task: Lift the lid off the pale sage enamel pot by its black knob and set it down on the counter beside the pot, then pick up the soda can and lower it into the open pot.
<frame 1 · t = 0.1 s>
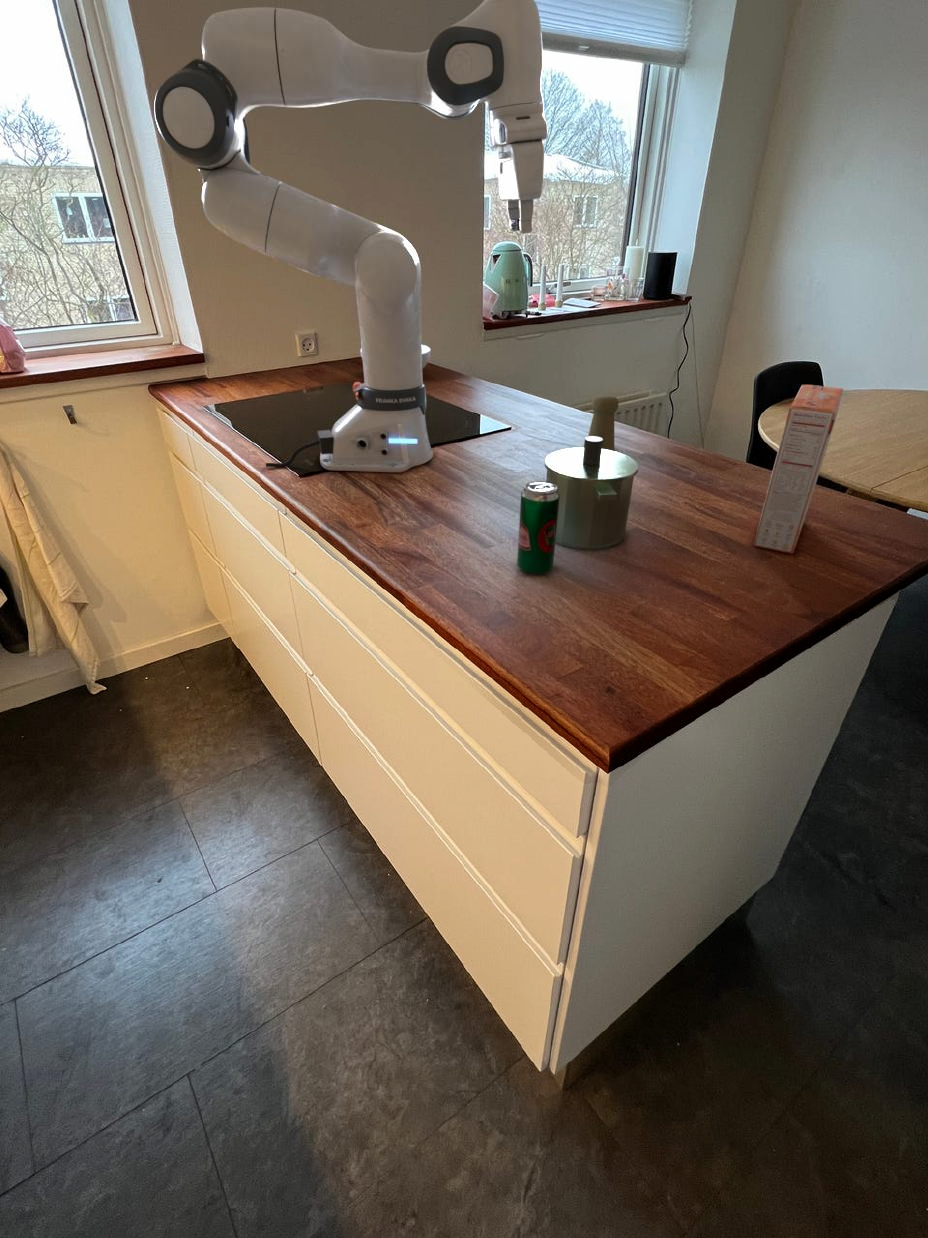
hand: (520, 231, 109), 39 cm above the worktop, tool pointing down, fingers open, 8 cm apart
soda can: (534, 569, 89), on the worktop
lid: (590, 466, 93), point 10 cm above the worktop, touching pot
beige pestle: (599, 450, 132), on the worktop
pot: (583, 531, 99), on the worktop
cracker box: (777, 534, 99), on the worktop
serving bowl: (396, 373, 191), on the worktop
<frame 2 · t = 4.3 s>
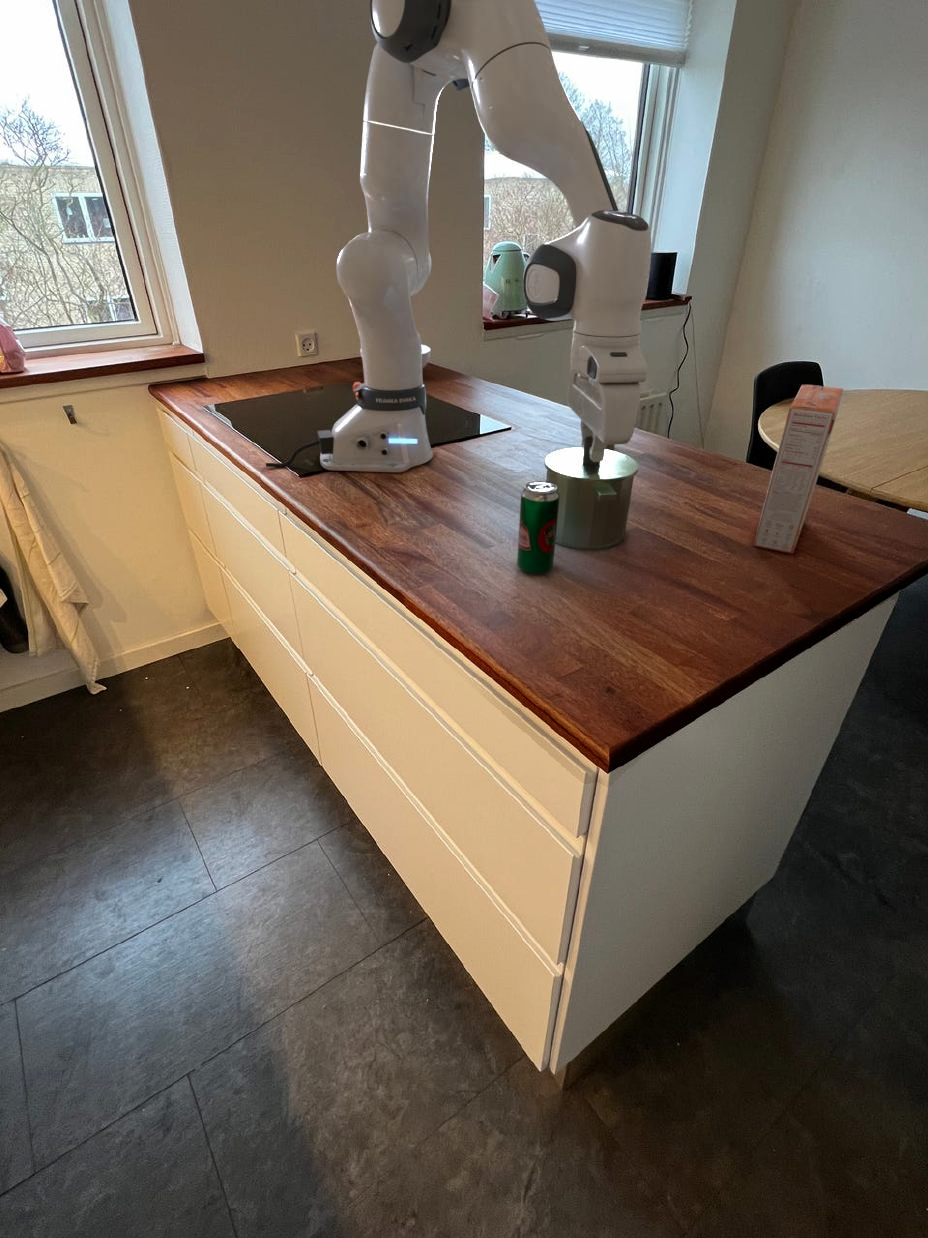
hand: (591, 455, 92), 12 cm above the worktop, tool pointing down, fingers closed on lid, 2 cm apart
lid: (590, 466, 93), point 11 cm above the worktop, touching gripper, pot
everything else where it was.
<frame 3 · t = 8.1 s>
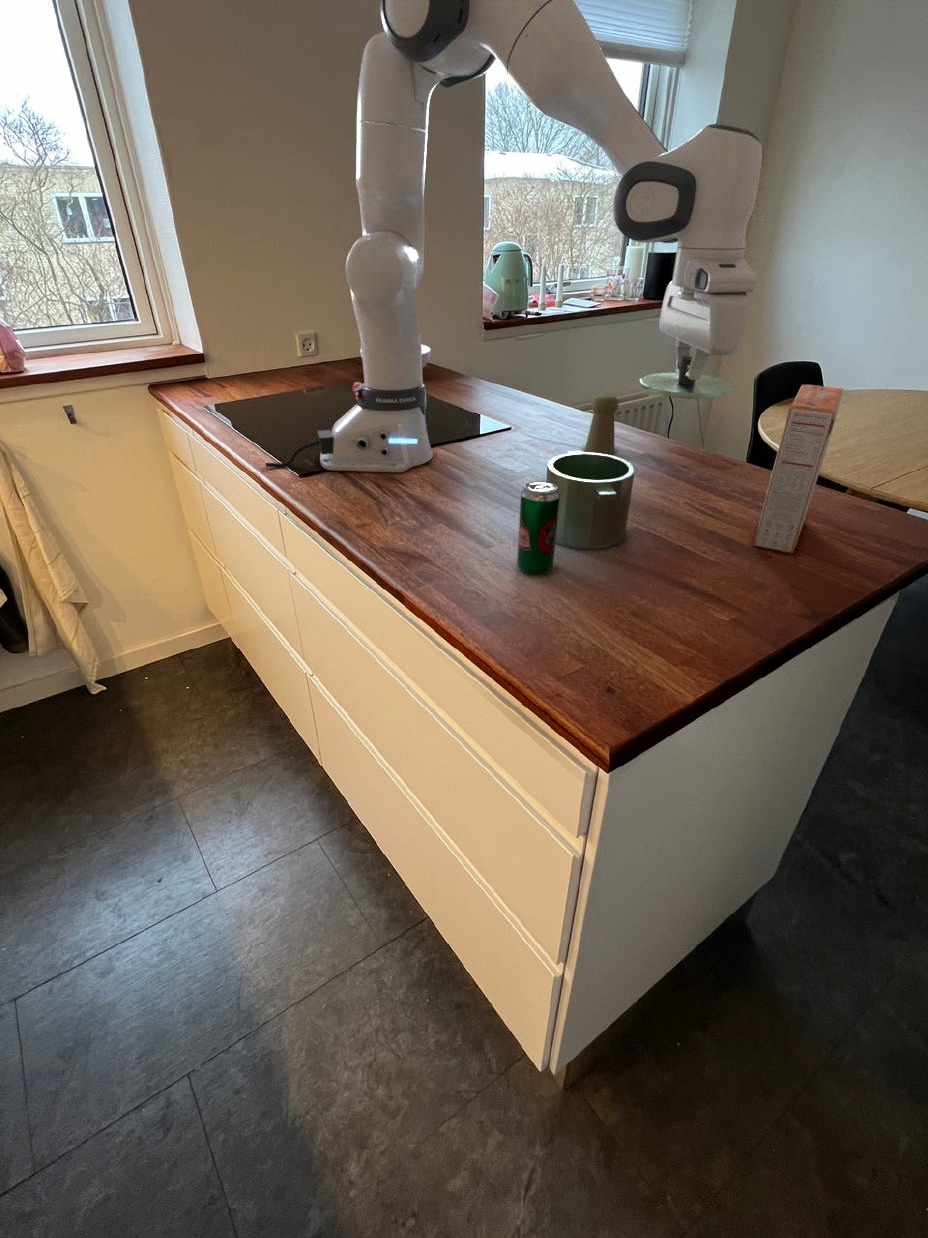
hand: (687, 375, 96), 21 cm above the worktop, tool pointing down, fingers closed on lid, 2 cm apart
lid: (685, 386, 96), point 20 cm above the worktop, touching gripper
everything else where it was.
when the fingers open (2 cm above the worktop, at t = 11.8 s): lid stays where it is, point 1 cm above the worktop.
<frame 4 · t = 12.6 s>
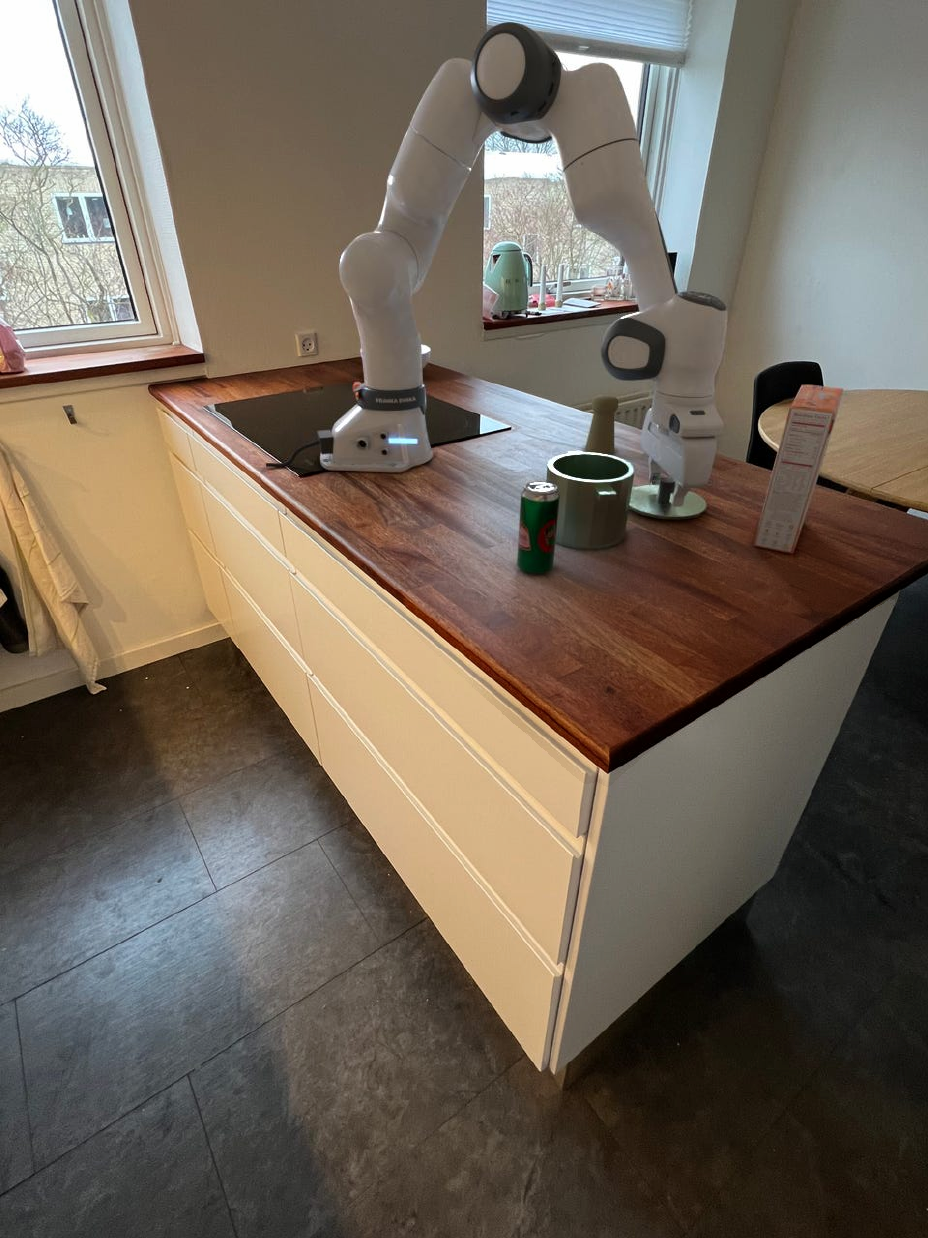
hand: (664, 493, 106), 2 cm above the worktop, tool pointing down, fingers open, 8 cm apart
lid: (663, 503, 107), point 1 cm above the worktop
everything else where it was.
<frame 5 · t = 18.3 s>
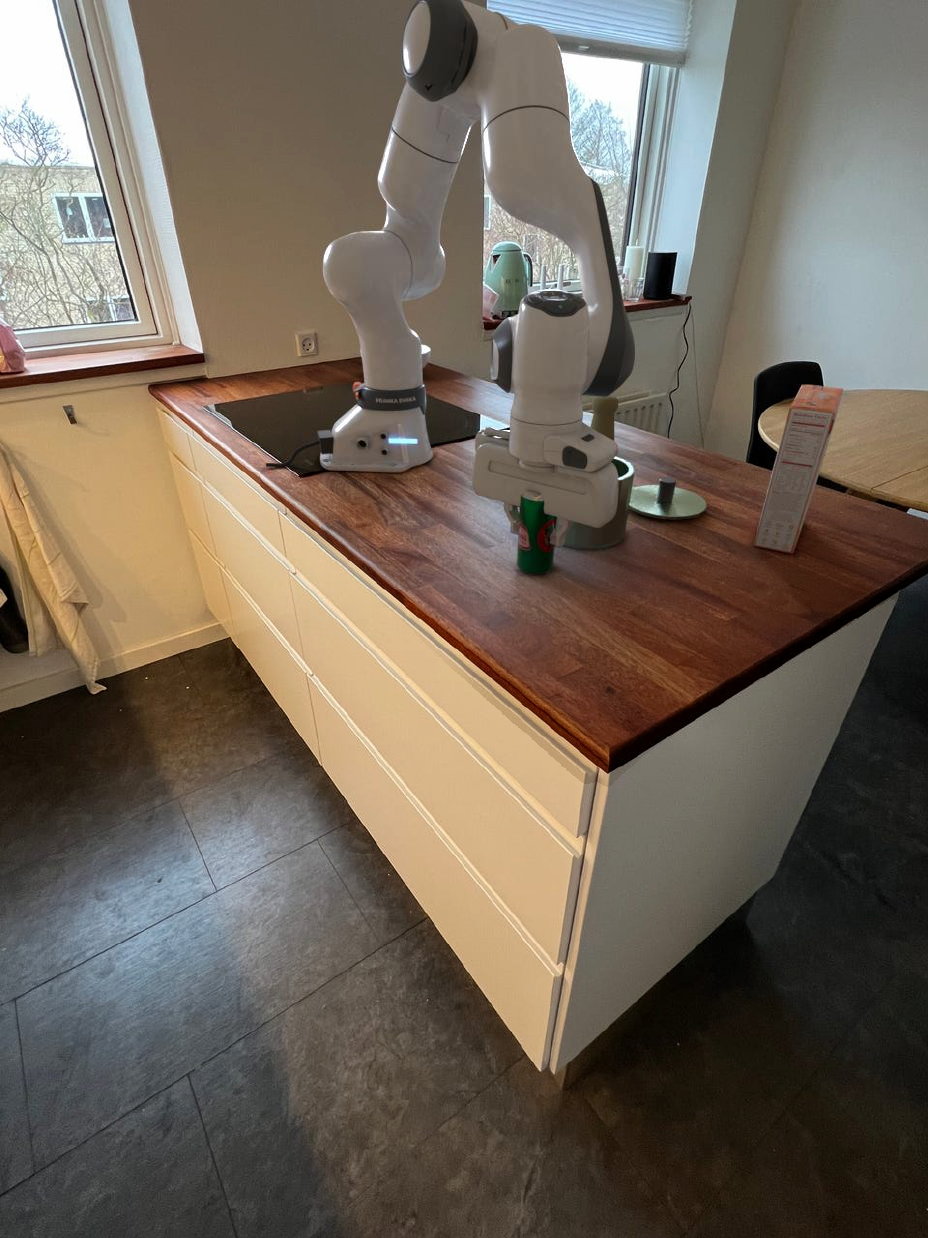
hand: (537, 538, 86), 5 cm above the worktop, tool pointing down, fingers closed on soda can, 5 cm apart
soda can: (534, 569, 89), on the worktop, touching gripper
everything else where it was.
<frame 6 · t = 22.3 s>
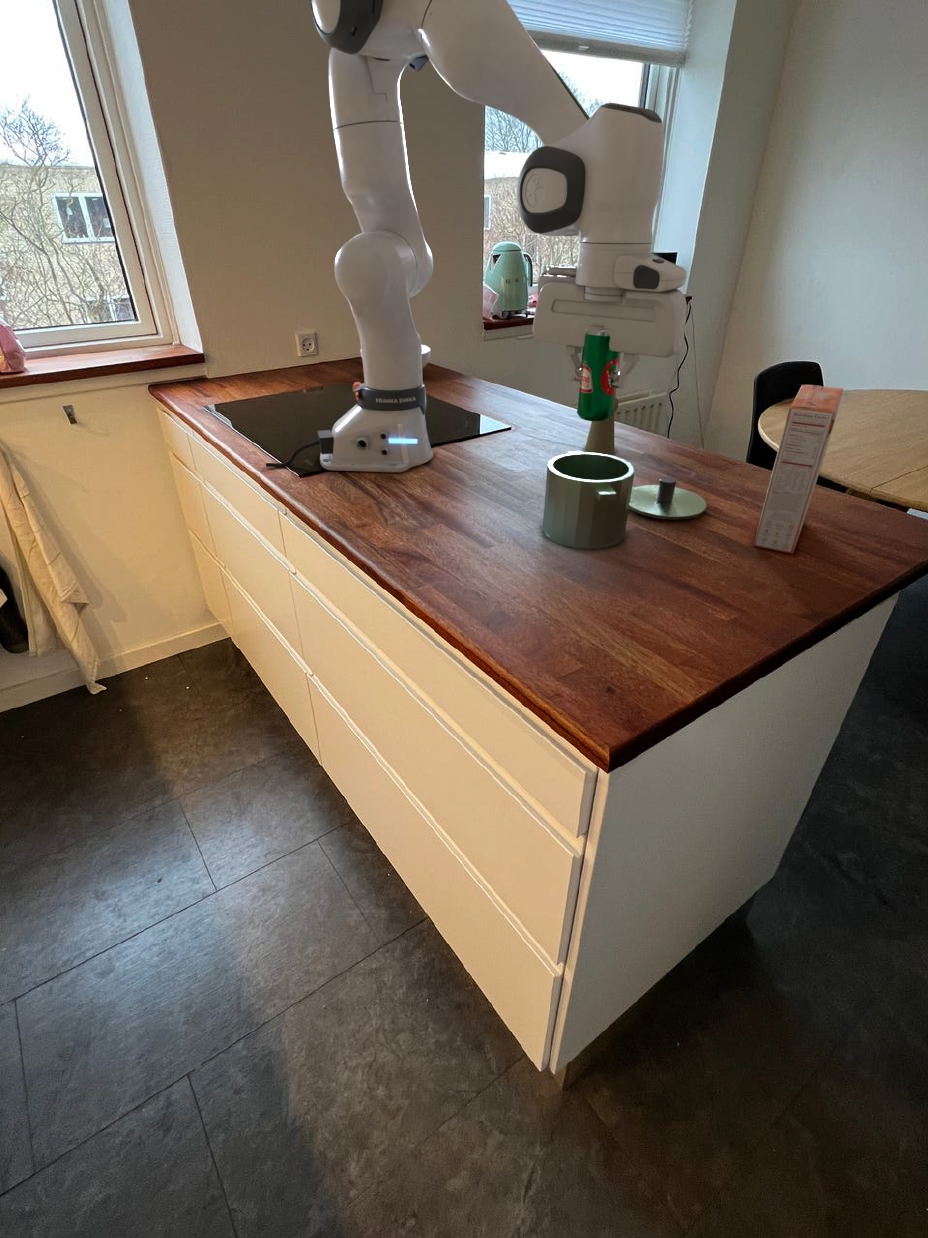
hand: (598, 384, 87), 22 cm above the worktop, tool pointing down, fingers closed on soda can, 5 cm apart
soda can: (594, 418, 89), point 18 cm above the worktop, touching gripper
everything else where it was.
when the fingers open (6 cm above the worktop, at t = 27.5 s): soda can stays where it is, resting on pot.
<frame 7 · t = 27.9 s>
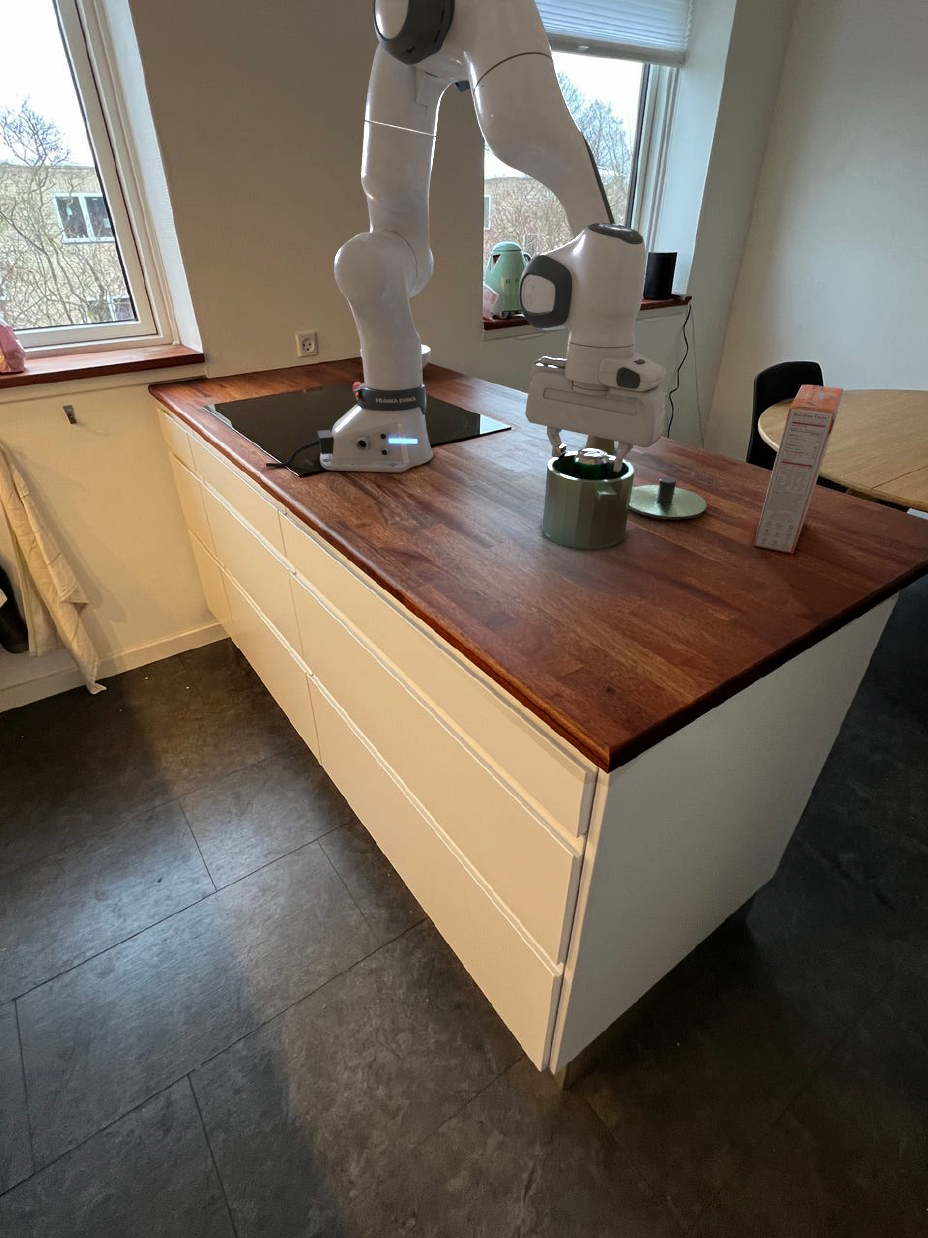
hand: (585, 463, 93), 11 cm above the worktop, tool pointing down, fingers open, 8 cm apart
soda can: (583, 528, 99), resting on pot
everything else where it was.
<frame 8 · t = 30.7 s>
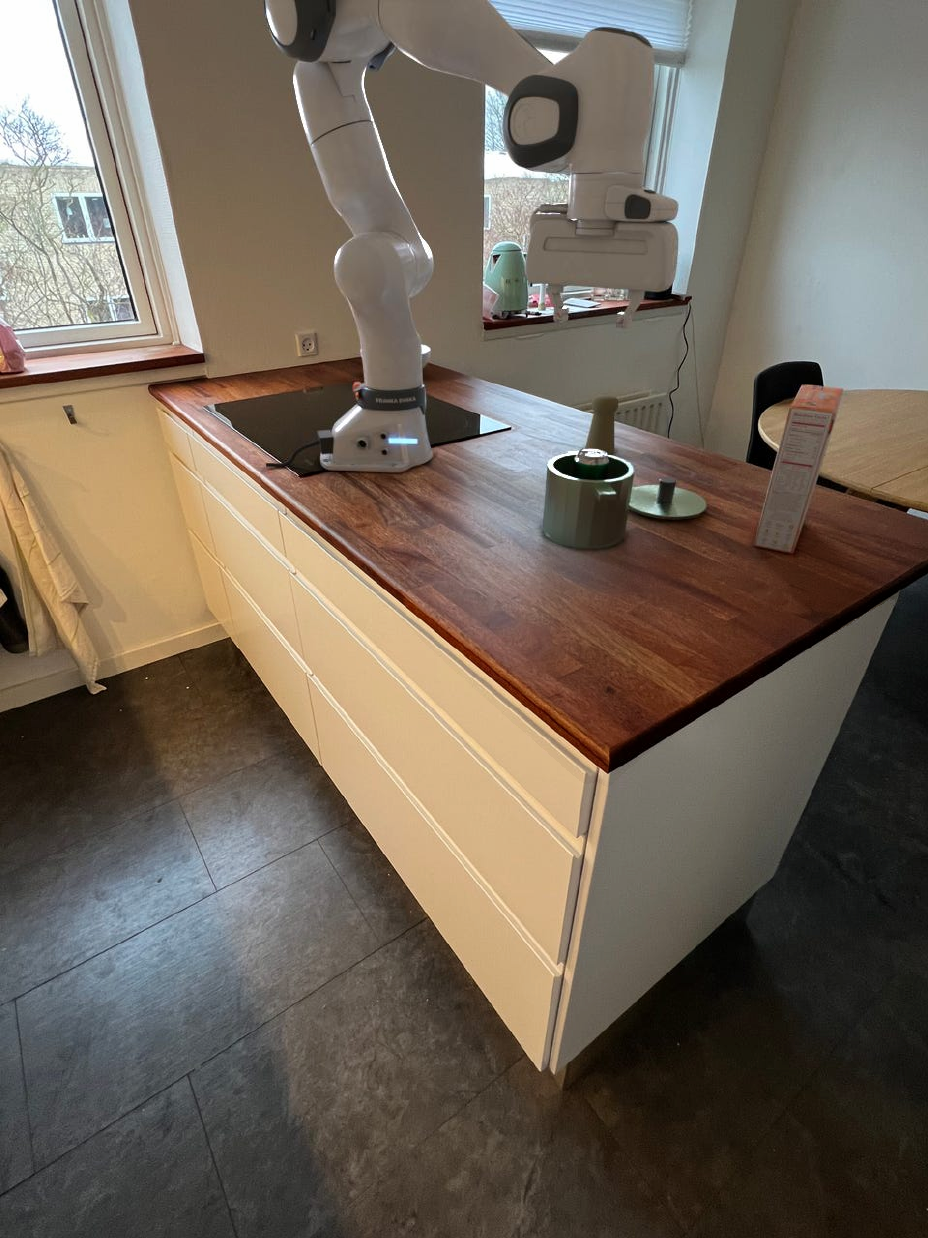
hand: (591, 324, 86), 29 cm above the worktop, tool pointing down, fingers open, 8 cm apart
nothing on the worktop moved.
at the end: lid inside the target area (0.1 cm from its centre), point 0.6 cm above the worktop; lid tilted 0°; soda can inside the target area in the pot (0.1 cm from its centre), point 0.3 cm above the pot's base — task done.
